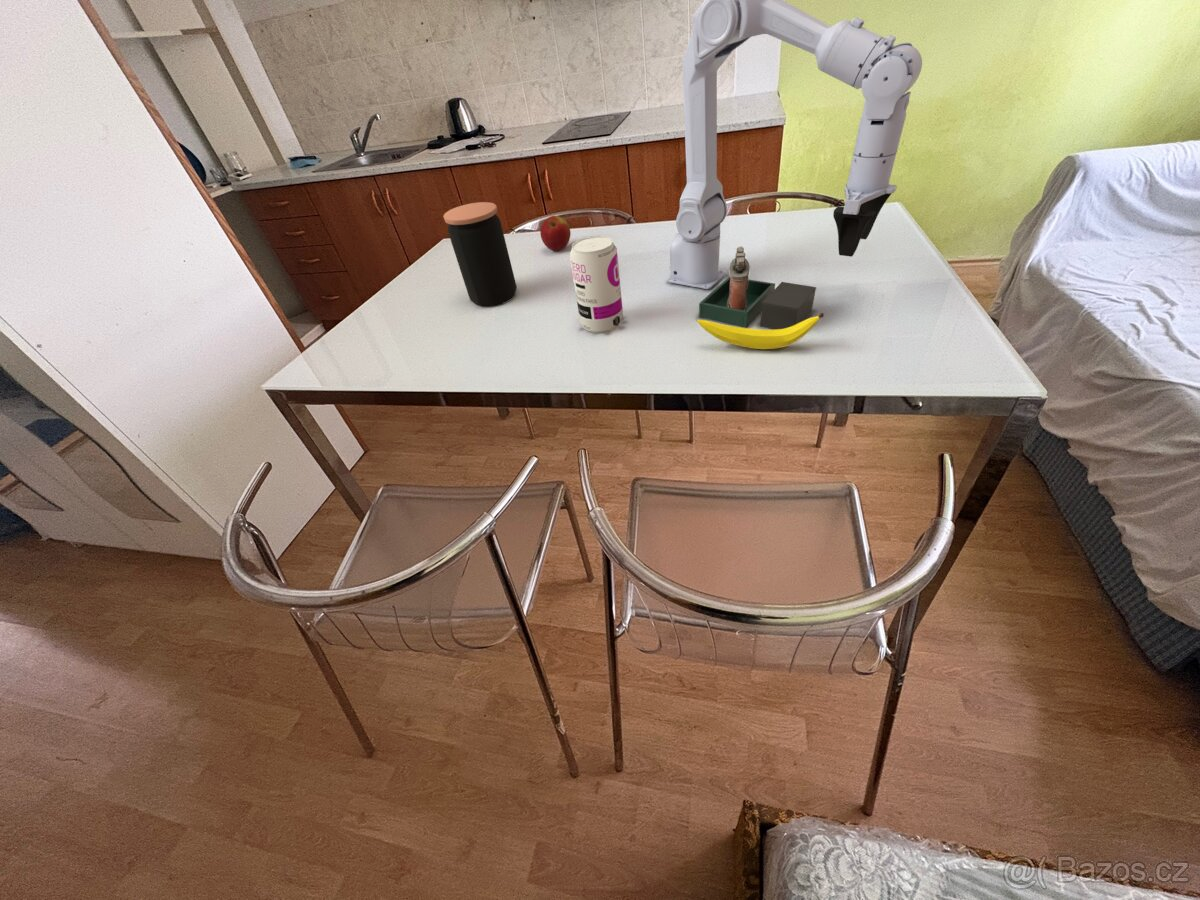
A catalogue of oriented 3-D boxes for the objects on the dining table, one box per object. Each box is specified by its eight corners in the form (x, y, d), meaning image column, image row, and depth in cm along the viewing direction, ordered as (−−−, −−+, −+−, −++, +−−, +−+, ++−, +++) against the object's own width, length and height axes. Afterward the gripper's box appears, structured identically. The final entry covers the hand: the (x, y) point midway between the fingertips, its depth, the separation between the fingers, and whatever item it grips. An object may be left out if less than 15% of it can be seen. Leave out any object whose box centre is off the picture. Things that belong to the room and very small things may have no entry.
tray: (698, 317, 89) (699, 303, 87) (728, 290, 96) (729, 276, 94) (746, 327, 85) (747, 312, 83) (773, 298, 91) (775, 283, 89)
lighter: (746, 316, 87) (751, 261, 80) (727, 316, 88) (730, 262, 81) (745, 296, 93) (750, 243, 86) (727, 296, 93) (730, 244, 87)
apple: (537, 254, 123) (530, 221, 118) (555, 242, 128) (549, 210, 122) (561, 257, 120) (555, 223, 114) (579, 245, 124) (574, 212, 119)
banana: (697, 341, 83) (697, 307, 79) (816, 345, 78) (823, 308, 74) (695, 350, 81) (695, 316, 77) (817, 354, 76) (824, 318, 72)
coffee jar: (526, 288, 108) (506, 202, 96) (501, 310, 102) (475, 220, 90) (488, 284, 112) (464, 201, 100) (460, 305, 106) (431, 219, 94)
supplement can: (628, 314, 93) (622, 234, 83) (616, 336, 88) (607, 253, 78) (589, 312, 96) (578, 234, 86) (575, 333, 90) (561, 253, 80)
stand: (759, 326, 84) (762, 302, 81) (778, 305, 89) (781, 281, 86) (794, 333, 81) (798, 308, 78) (811, 311, 86) (816, 287, 83)
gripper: (891, 167, 65) (866, 266, 74) (917, 140, 73) (891, 233, 82) (837, 165, 68) (819, 260, 78) (866, 140, 76) (847, 229, 86)
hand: (853, 246), depth 80 cm, fingers open, 7 cm apart
